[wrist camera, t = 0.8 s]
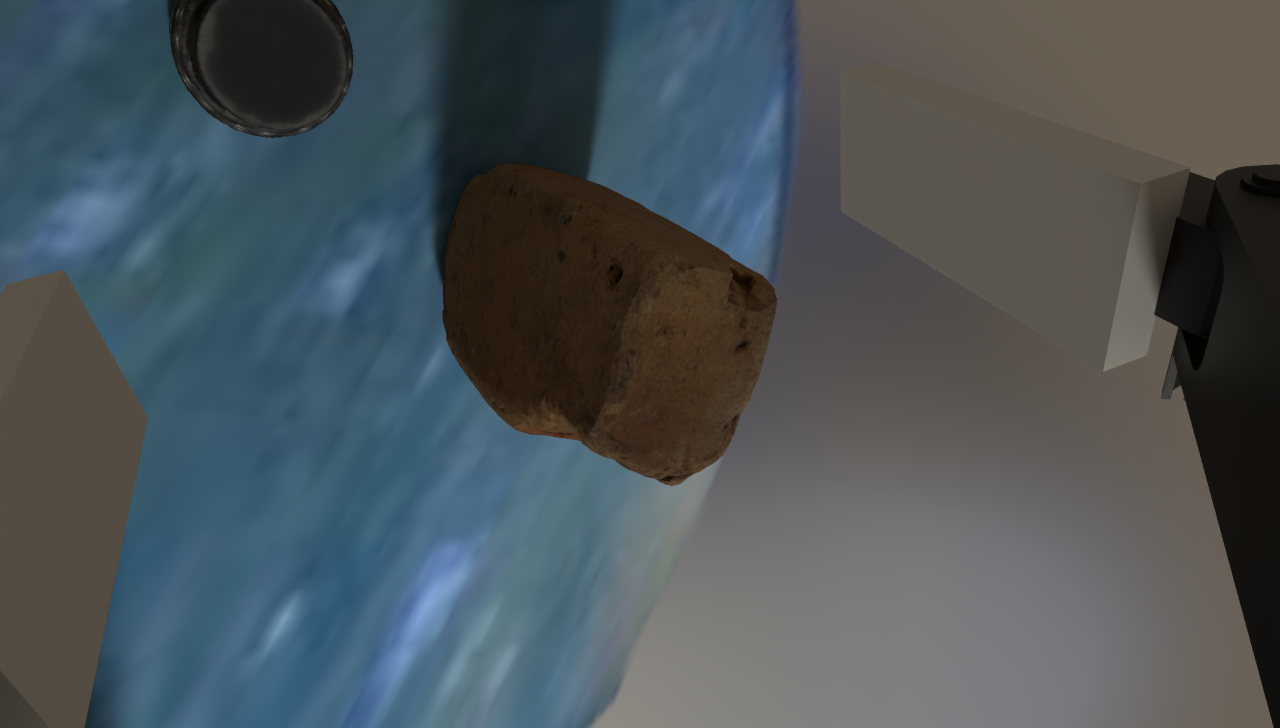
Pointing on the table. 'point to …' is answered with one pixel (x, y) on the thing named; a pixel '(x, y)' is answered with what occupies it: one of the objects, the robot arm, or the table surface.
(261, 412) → the table surface
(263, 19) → the pill bottle
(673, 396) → the block
